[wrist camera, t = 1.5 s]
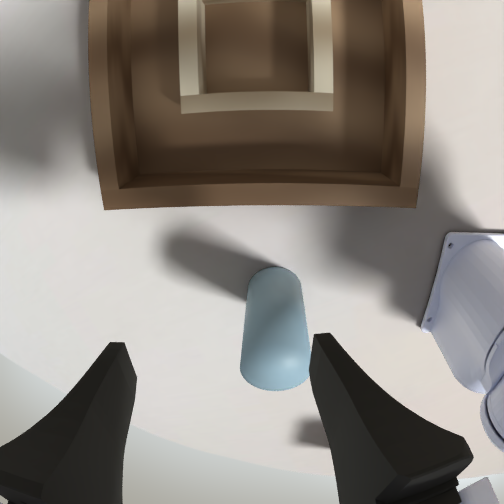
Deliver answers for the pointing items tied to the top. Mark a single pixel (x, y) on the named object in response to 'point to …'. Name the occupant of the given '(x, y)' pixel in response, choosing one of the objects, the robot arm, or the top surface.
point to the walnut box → (257, 102)
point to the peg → (275, 332)
